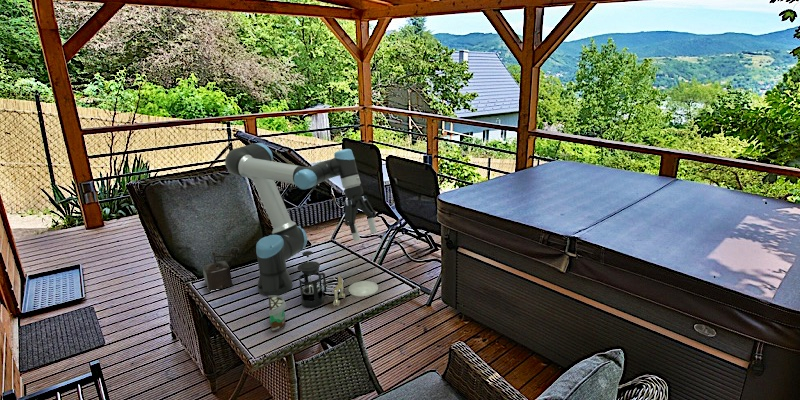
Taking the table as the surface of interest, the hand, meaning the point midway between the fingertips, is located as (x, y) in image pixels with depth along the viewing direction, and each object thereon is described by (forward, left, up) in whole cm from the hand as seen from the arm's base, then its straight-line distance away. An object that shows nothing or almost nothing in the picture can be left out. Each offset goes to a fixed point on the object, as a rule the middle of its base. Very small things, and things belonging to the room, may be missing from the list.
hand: (365, 236), depth 185 cm
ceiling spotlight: (-13, -1, -27) cm, 30 cm away
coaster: (-3, +6, -27) cm, 28 cm away
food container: (-33, -20, -27) cm, 48 cm away
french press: (-23, -4, -27) cm, 36 cm away
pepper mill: (-68, +14, -27) cm, 75 cm away
